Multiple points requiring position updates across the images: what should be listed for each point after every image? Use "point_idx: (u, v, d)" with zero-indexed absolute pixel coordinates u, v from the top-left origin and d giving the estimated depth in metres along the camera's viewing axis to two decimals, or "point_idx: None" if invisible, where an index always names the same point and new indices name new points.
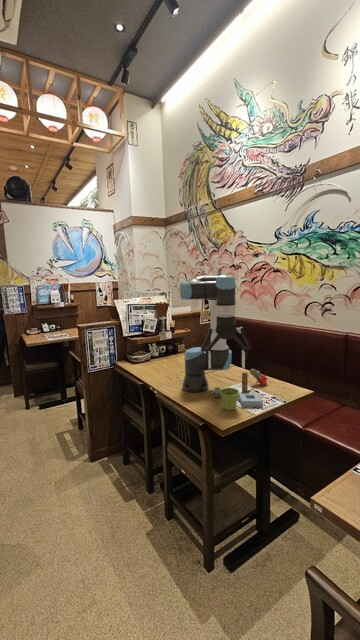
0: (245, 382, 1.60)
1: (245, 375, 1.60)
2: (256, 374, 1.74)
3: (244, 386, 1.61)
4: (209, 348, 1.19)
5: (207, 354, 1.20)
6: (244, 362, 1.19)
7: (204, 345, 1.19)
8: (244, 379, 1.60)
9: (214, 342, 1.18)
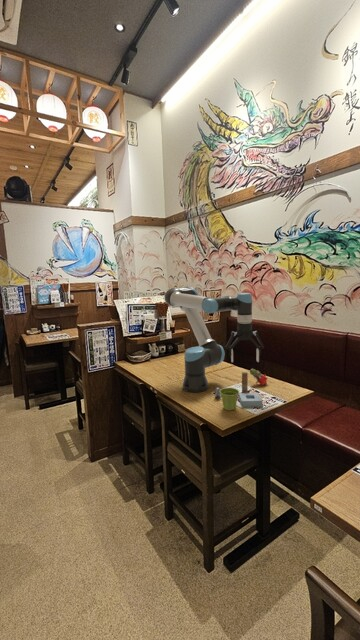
0: (245, 382, 1.60)
1: (245, 375, 1.60)
2: (256, 374, 1.74)
3: (244, 386, 1.61)
4: (232, 347, 1.58)
5: (230, 351, 1.59)
6: (258, 357, 1.58)
7: (228, 344, 1.58)
8: (244, 379, 1.60)
9: (236, 342, 1.57)
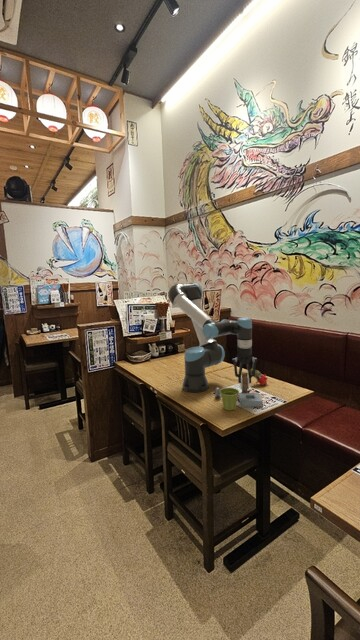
0: (245, 382, 1.60)
1: (245, 375, 1.60)
2: (256, 374, 1.74)
3: (244, 386, 1.61)
4: (240, 374, 1.60)
5: (240, 379, 1.61)
6: None
7: (236, 372, 1.60)
8: (244, 379, 1.60)
9: (241, 368, 1.60)
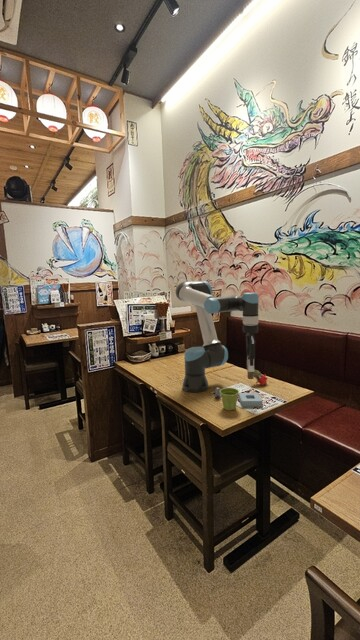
0: (247, 364, 1.49)
1: (247, 357, 1.48)
2: (256, 374, 1.74)
3: (247, 368, 1.50)
4: (247, 352, 1.51)
5: None
6: (248, 367, 1.47)
7: (246, 349, 1.53)
8: (247, 361, 1.49)
9: (247, 346, 1.50)
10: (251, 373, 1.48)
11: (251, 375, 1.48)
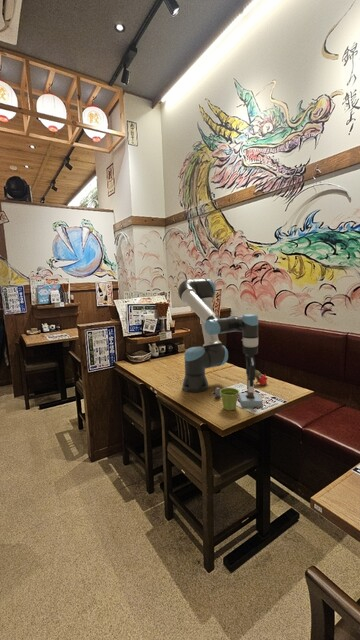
0: (247, 385, 1.50)
1: (247, 378, 1.50)
2: (256, 374, 1.74)
3: (247, 389, 1.51)
4: (247, 372, 1.52)
5: None
6: (248, 387, 1.49)
7: (246, 369, 1.54)
8: (247, 382, 1.51)
9: (247, 367, 1.51)
10: (251, 394, 1.50)
11: (251, 396, 1.50)
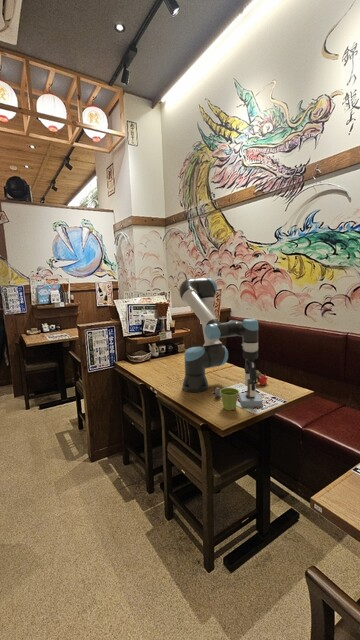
0: (247, 389, 1.51)
1: (247, 382, 1.50)
2: (256, 374, 1.74)
3: (247, 393, 1.52)
4: (245, 370, 1.57)
5: None
6: (250, 391, 1.44)
7: (245, 367, 1.58)
8: (247, 385, 1.51)
9: (246, 367, 1.54)
10: (251, 398, 1.50)
11: None
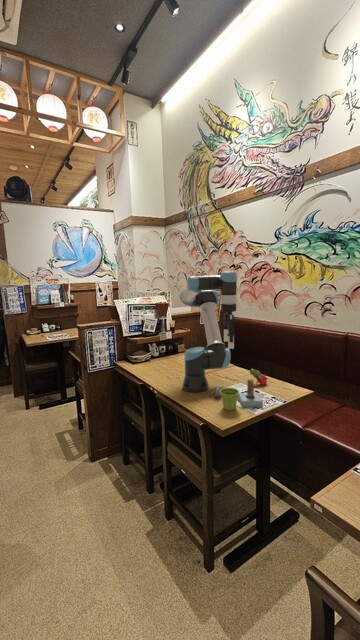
0: (247, 389, 1.51)
1: (247, 382, 1.50)
2: (256, 374, 1.74)
3: None
4: (224, 326, 1.56)
5: None
6: (228, 344, 1.44)
7: (223, 322, 1.58)
8: (247, 385, 1.51)
9: (224, 322, 1.54)
10: (251, 398, 1.50)
11: None
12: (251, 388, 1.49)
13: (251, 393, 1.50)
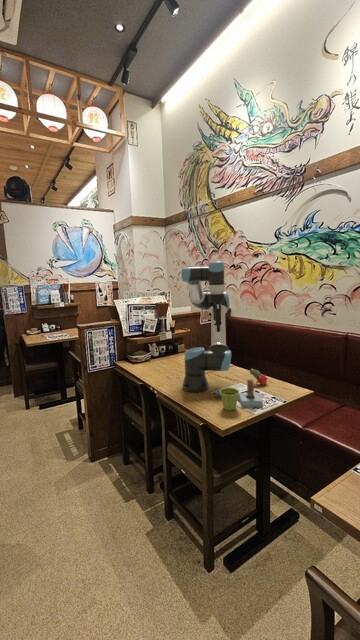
0: (247, 389, 1.51)
1: (247, 382, 1.50)
2: (256, 374, 1.74)
3: None
4: (213, 317, 1.56)
5: None
6: (215, 333, 1.43)
7: None
8: (247, 385, 1.51)
9: (214, 313, 1.54)
10: (251, 398, 1.50)
11: None
12: (251, 388, 1.49)
13: (251, 393, 1.50)
